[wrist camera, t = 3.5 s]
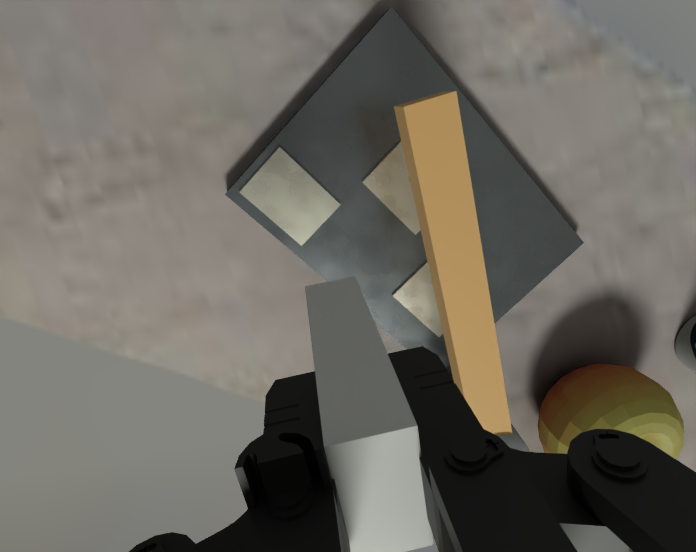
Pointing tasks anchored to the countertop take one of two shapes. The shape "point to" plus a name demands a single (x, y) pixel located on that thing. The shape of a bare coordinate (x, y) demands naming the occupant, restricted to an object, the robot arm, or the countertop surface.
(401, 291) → the plate
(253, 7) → the countertop surface
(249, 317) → the countertop surface
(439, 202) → the cable arm
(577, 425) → the apple
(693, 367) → the lotion bottle
